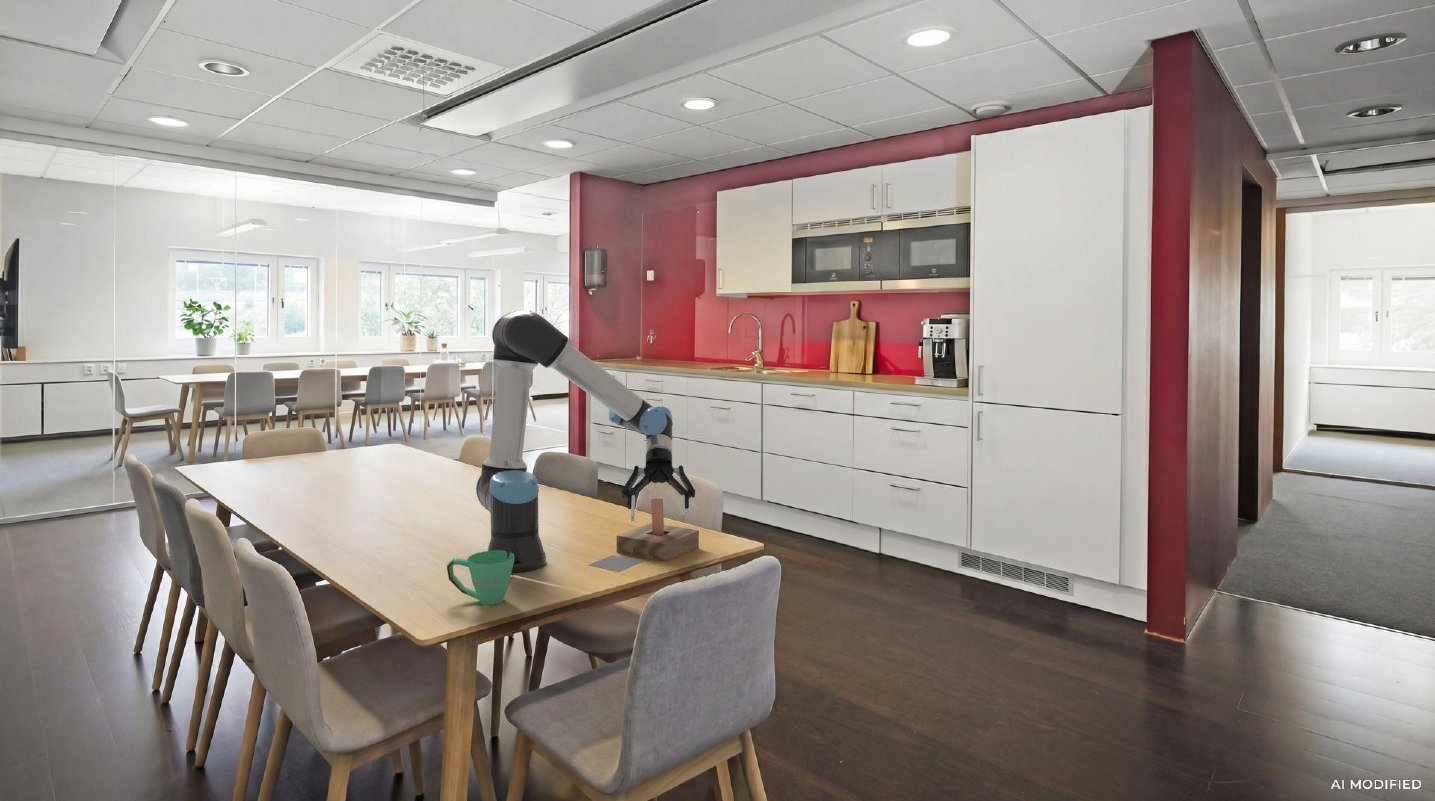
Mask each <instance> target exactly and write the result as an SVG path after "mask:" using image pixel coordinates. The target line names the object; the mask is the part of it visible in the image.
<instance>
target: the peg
mask: <svg viewBox="0 0 1435 801" xmlns="http://www.w3.org/2000/svg"><path fill="white" fill-rule="evenodd" d="M650 508H651V509H650V511H651V512H650V513H651V523H652V535H656V536H662V535H664V525H665V523H664V518H665V517H664V500H663V498H653V499H650Z"/></svg>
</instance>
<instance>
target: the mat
mask: <svg viewBox="0 0 1435 801" xmlns="http://www.w3.org/2000/svg"><path fill="white" fill-rule="evenodd" d="M643 562H644V561H643V560H638V559H633V558H630V557H623V556H619V555H615V554H614V555H613V554H612V555H610V556H609V555H608V556H607V557H605V558H602V559H599V560H596V561H595V562H592V563H589V564H588V566H590V567H595V568H598V569H603V570H609V571H614V572H622V571H624V570H627V569H629V568H632V567H633V566H636V565H638V564H640V563H643Z"/></svg>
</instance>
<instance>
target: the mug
mask: <svg viewBox="0 0 1435 801" xmlns="http://www.w3.org/2000/svg"><path fill="white" fill-rule="evenodd" d="M513 563H514V554H513V553H511V552H510V554H509V557H508V554H507V552H506V551H498V550H497V551H488V550H485V551H481V552H476V553H473V554H471V555H470V556H468V557H467V558H462V557H458V558H457V557H455V558H452V559H451V560H449V562H448V563H447V564H446V571H447V576H448V581H450V583H452V585H453V586H455V587H456V588H457V590H459V592H461V593H462V594H464V595H467V596H468V597H471V598H473V599H476V600H478V601H479V602H480V604H481V605H483V604H484V605H483V606H495V605H494V604H496V605H499V604H502V603H503V602H504V599H505V596H506V594H507V592H508V589H509V587H510V586H509V585H510V582H511V579H512V575H511V573H512V568H513ZM457 565H458V566H463V567H467V568H468V569H469V573H470V578H471V581H472V585H473V588H474V589H471V588H468V587H466V586H465V585H464V584H463V582H462V581H460V580H459V578H458V577H457V576H456V575H455V573H454V566H457Z"/></svg>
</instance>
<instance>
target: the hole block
mask: <svg viewBox="0 0 1435 801" xmlns="http://www.w3.org/2000/svg"><path fill="white" fill-rule="evenodd" d="M699 532H700V531H699V530H698V529H692V528H687V527H686V528H685V527H680V526H674V525H673V526H672V525H668V524H664V535H662V536H656V535H652V522H649V523H647V524H644V525H641V526H638V527H636V528H632V529H631V530H630V529H629V530H628V531H625V532H623V533H619V534H617V535H616V553H621V554H624V555H625V554H626V555H630V556H636V557H640V558H641V557H642V558H645V559H651V560H655V561H662V562H667V561H670V560H672V559H674V558H677V557H678V556H681V555H683V554H686V553H687V552H690V551H696V550H697V549H699V546H700V542H699V541H700V539H699V538H700V533H699Z"/></svg>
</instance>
